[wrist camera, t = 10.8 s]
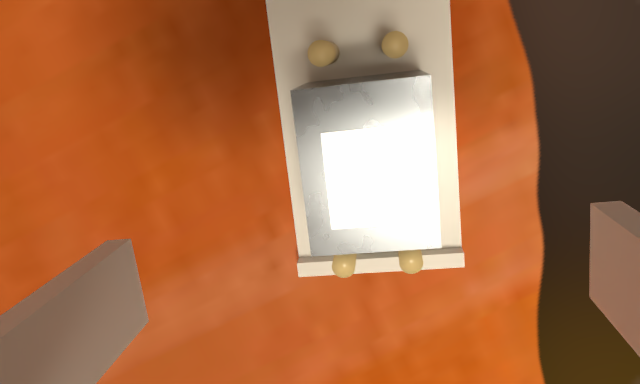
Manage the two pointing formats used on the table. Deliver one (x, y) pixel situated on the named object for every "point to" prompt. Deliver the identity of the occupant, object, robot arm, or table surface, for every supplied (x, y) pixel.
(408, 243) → the block
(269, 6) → the tray
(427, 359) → the table surface
